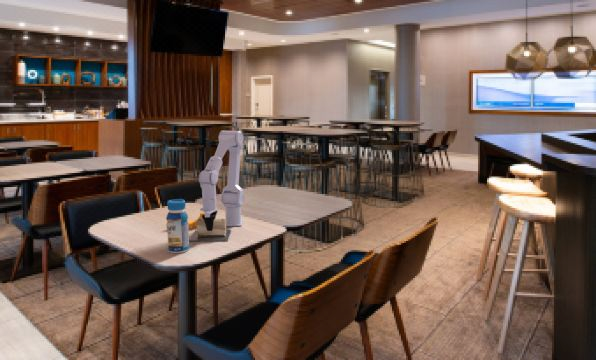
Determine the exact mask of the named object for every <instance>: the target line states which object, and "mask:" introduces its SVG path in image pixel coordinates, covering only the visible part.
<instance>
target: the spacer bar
mask: <svg viewBox="0 0 596 360" xmlns="http://www.w3.org/2000/svg"><path fill="white" fill-rule="evenodd" d="M197 219H198V218H197ZM197 219H196V220H197ZM196 222H197V227H196V230H197V235H225V234H226V230H227V226H226V218H215V219H214V222H213V230H212V231H207V228H206V225H205V222H204V220H203V219H198V220H197V221H196Z"/></svg>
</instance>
